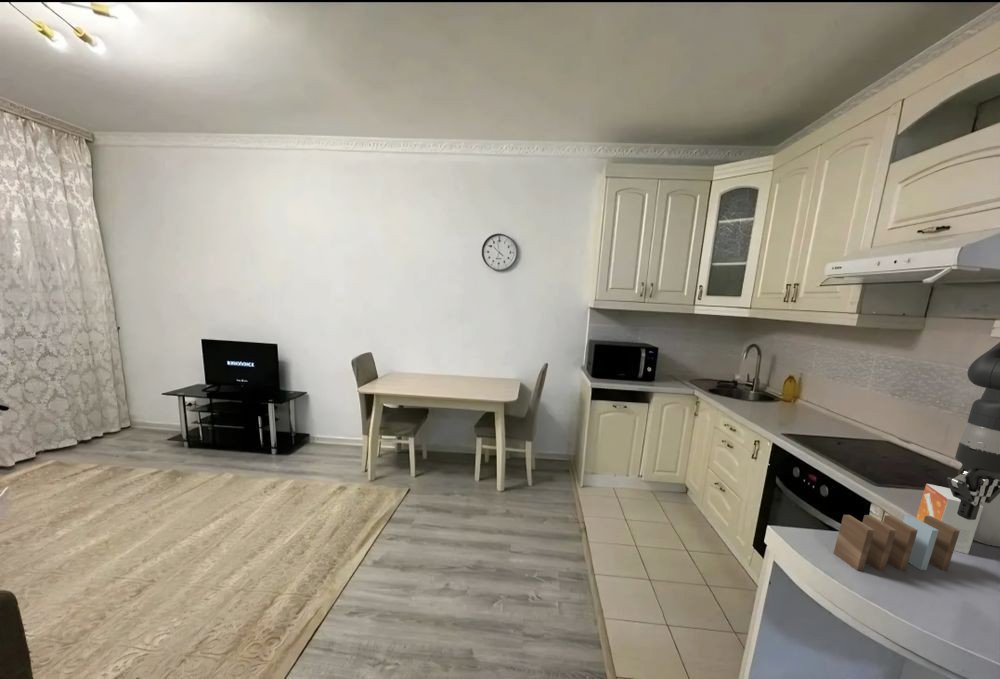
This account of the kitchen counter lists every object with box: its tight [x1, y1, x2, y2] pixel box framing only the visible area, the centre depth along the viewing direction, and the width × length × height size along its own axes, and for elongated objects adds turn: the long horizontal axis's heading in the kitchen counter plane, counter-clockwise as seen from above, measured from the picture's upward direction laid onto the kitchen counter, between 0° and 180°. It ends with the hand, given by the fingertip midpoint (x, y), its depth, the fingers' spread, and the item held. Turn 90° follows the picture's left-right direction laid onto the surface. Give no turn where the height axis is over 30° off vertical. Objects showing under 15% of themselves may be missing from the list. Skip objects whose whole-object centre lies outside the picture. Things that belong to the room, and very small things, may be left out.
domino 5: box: [923, 516, 960, 571], centre depth 82 cm, size 2×5×10 cm, turn 6°
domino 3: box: [882, 514, 918, 571], centre depth 80 cm, size 2×5×10 cm, turn 6°
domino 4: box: [902, 515, 939, 571], centre depth 81 cm, size 2×5×10 cm, turn 6°
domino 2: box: [861, 514, 896, 571], centre depth 80 cm, size 2×5×10 cm, turn 6°
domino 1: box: [833, 514, 874, 572], centre depth 79 cm, size 2×5×10 cm, turn 6°
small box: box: [915, 483, 983, 555], centre depth 90 cm, size 8×6×13 cm
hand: (965, 517), depth 81 cm, fingers closed
